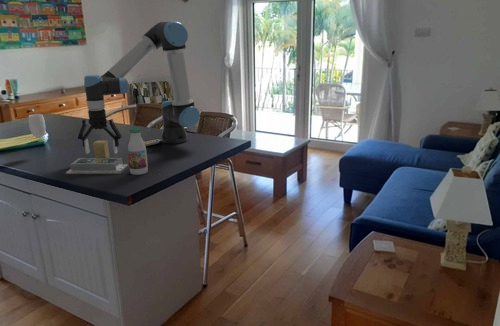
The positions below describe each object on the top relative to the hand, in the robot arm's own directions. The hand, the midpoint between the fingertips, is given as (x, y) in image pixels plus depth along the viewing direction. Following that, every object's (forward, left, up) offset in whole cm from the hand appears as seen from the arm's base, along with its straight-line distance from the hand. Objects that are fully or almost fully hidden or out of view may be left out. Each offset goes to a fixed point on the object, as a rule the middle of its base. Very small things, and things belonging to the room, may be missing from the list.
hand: (101, 153), depth 193 cm
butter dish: (-2, +12, -4) cm, 13 cm away
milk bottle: (-22, +16, -4) cm, 28 cm away
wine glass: (+35, -11, -4) cm, 37 cm away
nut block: (0, 0, -4) cm, 4 cm away
